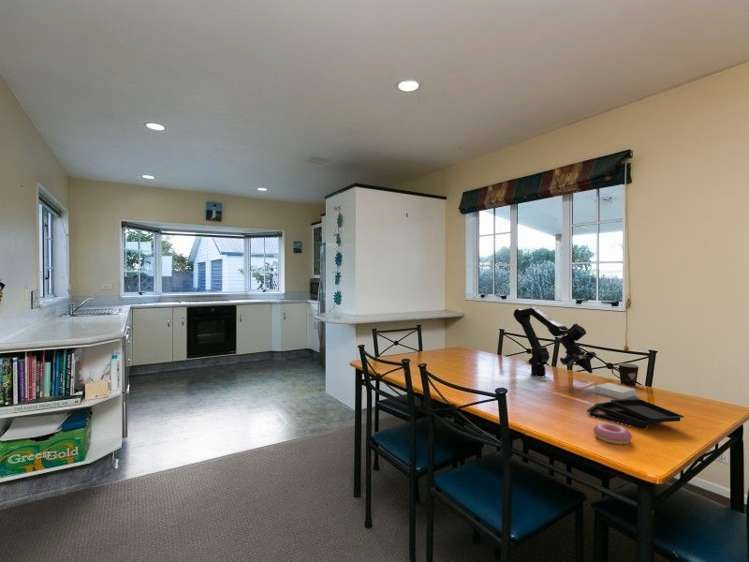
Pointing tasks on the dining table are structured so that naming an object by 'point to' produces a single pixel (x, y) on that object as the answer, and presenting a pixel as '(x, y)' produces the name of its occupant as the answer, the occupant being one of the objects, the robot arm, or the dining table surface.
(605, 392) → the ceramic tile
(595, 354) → the robot arm
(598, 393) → the slate board
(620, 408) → the tray
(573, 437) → the dining table surface
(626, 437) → the doughnut
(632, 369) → the coffee mug
